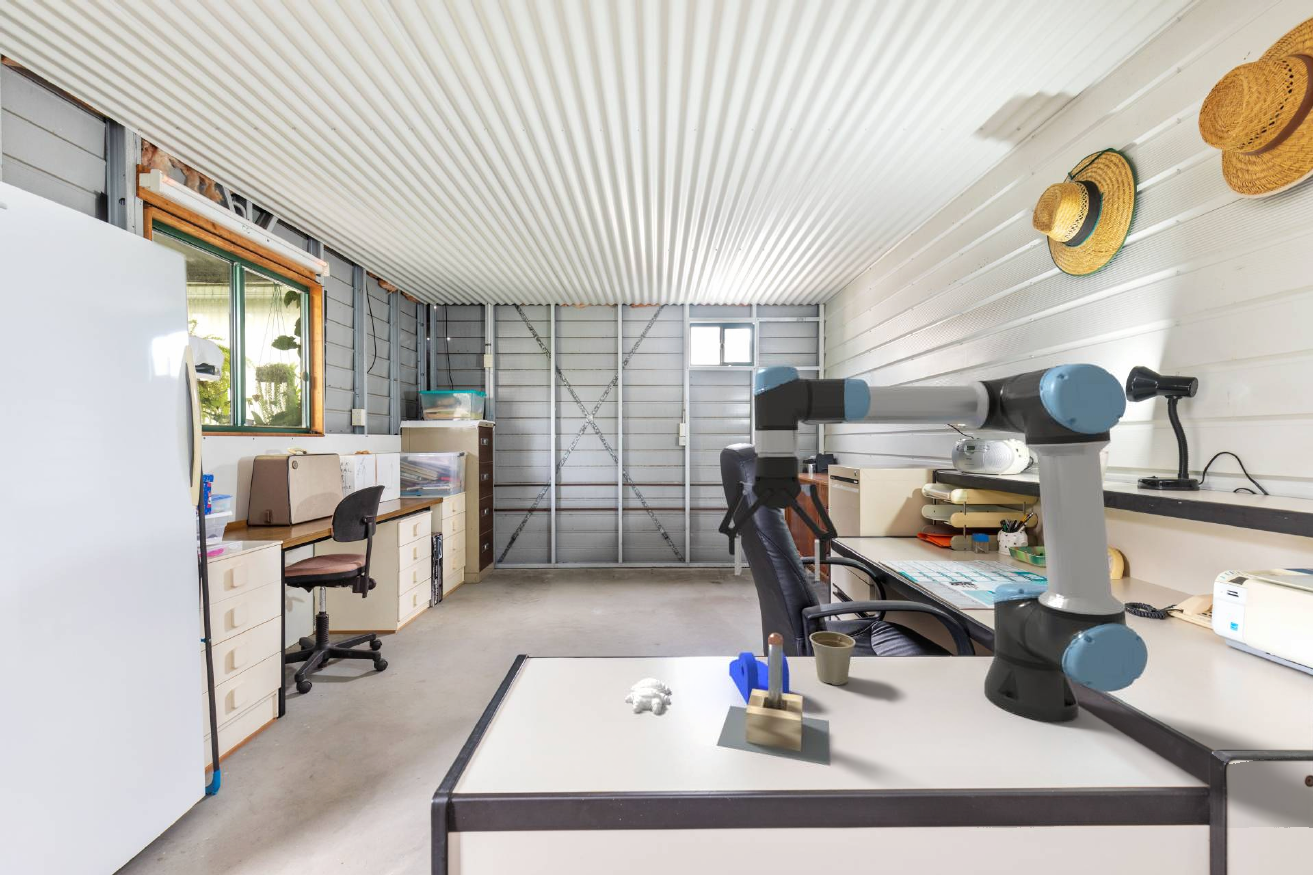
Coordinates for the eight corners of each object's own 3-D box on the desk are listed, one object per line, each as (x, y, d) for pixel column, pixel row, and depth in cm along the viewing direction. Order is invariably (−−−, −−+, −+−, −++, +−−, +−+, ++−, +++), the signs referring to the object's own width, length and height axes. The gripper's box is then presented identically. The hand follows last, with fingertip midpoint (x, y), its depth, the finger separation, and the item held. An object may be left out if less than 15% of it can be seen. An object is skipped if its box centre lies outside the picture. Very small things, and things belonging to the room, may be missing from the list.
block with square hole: (802, 723, 96) (802, 695, 96) (800, 751, 87) (800, 720, 87) (752, 715, 98) (752, 688, 98) (745, 741, 90) (745, 712, 90)
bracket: (789, 705, 103) (789, 659, 103) (747, 707, 102) (747, 661, 102) (760, 666, 121) (761, 627, 121) (725, 668, 120) (725, 628, 120)
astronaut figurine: (620, 713, 100) (620, 697, 100) (634, 685, 112) (634, 670, 112) (665, 717, 99) (665, 701, 99) (675, 688, 110) (675, 673, 111)
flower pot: (840, 693, 108) (840, 651, 108) (800, 678, 115) (801, 638, 115) (863, 680, 114) (863, 640, 114) (824, 666, 121) (824, 628, 121)
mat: (828, 722, 97) (828, 720, 97) (829, 766, 83) (829, 765, 83) (730, 707, 102) (730, 705, 102) (716, 746, 89) (716, 745, 89)
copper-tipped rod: (783, 729, 94) (783, 631, 94) (782, 737, 91) (782, 636, 91) (768, 727, 94) (768, 629, 95) (766, 734, 92) (767, 634, 92)
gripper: (850, 455, 93) (851, 576, 93) (710, 454, 100) (711, 566, 100) (852, 456, 86) (853, 587, 86) (702, 455, 93) (702, 576, 93)
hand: (776, 576), depth 93 cm, fingers open, 13 cm apart
